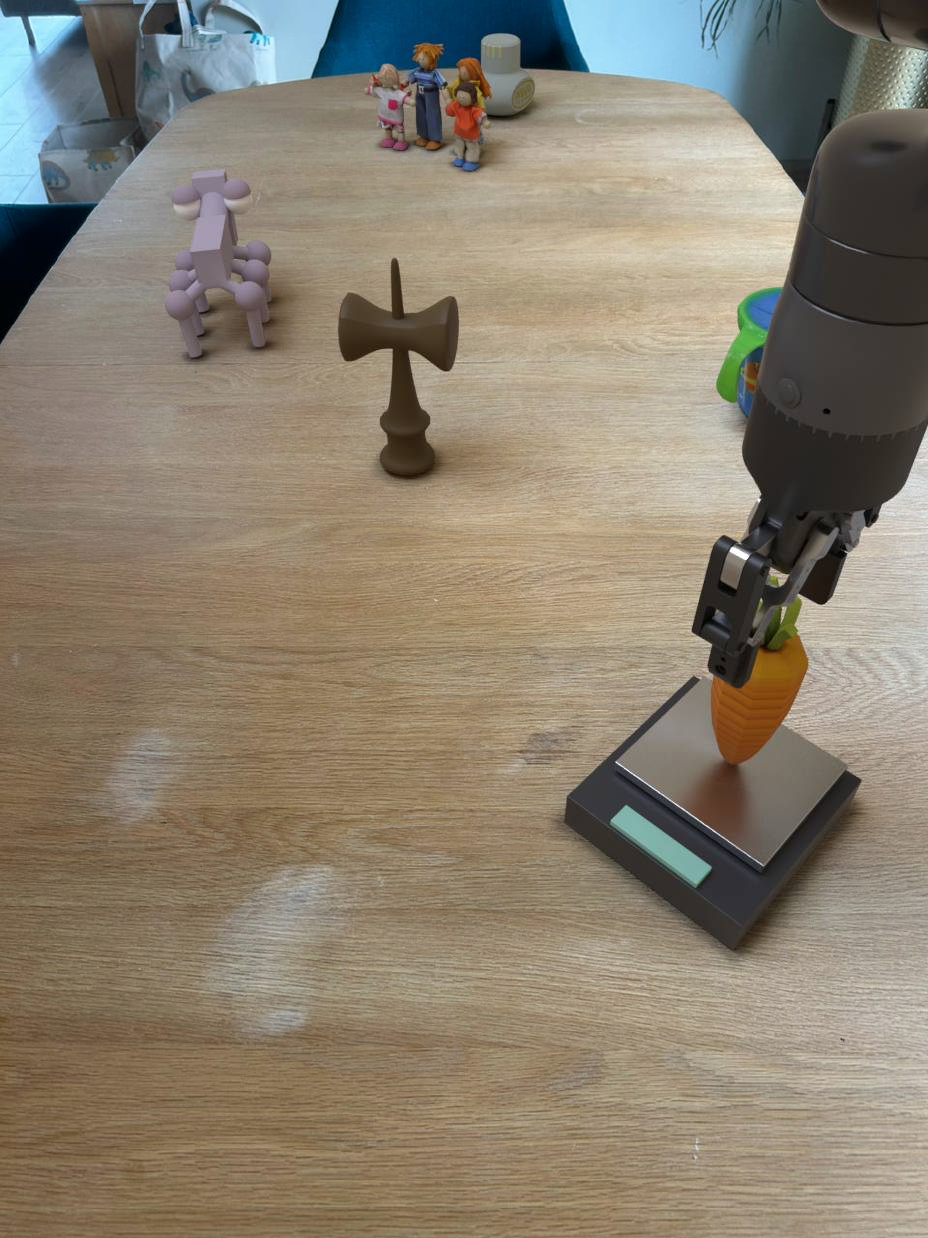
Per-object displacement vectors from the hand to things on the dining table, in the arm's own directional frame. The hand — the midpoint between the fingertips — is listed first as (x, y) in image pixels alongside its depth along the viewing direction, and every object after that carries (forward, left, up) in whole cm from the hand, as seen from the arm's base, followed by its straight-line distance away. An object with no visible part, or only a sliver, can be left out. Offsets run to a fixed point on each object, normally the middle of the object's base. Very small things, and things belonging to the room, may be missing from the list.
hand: (770, 634), depth 55 cm
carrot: (0, 0, -12) cm, 12 cm away
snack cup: (-42, -22, -16) cm, 51 cm away
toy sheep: (-17, -77, -16) cm, 81 cm away
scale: (+2, 0, -16) cm, 16 cm away
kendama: (-11, -42, -16) cm, 46 cm away
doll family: (-67, -93, -16) cm, 116 cm away
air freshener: (-84, -97, -16) cm, 130 cm away
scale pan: (0, 0, -13) cm, 13 cm away
